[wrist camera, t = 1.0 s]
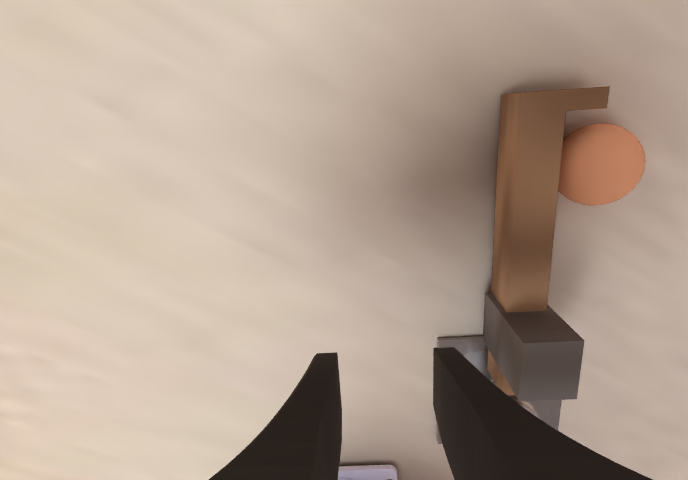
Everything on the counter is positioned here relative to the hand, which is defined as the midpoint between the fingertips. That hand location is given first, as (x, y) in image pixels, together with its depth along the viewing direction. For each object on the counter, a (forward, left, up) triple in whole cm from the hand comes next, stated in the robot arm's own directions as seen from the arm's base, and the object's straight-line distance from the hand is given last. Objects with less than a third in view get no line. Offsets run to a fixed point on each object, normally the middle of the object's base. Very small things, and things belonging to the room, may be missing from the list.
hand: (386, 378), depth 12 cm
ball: (+5, -10, -8) cm, 13 cm away
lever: (+1, -8, -9) cm, 12 cm away
